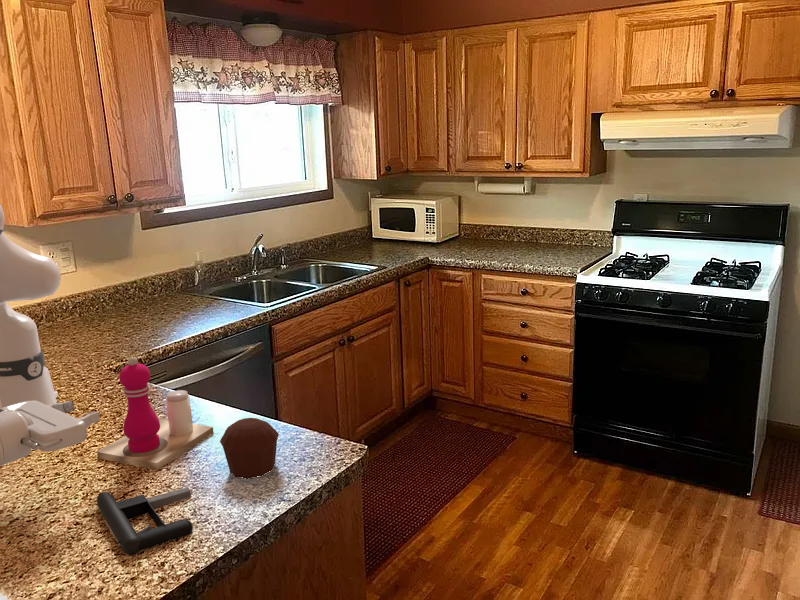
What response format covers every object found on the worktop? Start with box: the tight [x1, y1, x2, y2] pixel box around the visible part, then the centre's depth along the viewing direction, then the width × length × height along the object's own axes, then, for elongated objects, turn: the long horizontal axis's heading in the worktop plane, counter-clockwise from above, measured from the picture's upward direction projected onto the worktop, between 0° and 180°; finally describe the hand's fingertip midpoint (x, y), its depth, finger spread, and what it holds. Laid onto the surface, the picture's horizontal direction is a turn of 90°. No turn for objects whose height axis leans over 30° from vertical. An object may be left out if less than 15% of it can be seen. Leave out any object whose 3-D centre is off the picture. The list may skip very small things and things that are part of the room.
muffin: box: [219, 417, 280, 480], centre depth 132 cm, size 12×11×10 cm
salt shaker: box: [165, 389, 194, 437], centre depth 146 cm, size 5×5×9 cm
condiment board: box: [96, 417, 214, 471], centre depth 144 cm, size 16×18×2 cm
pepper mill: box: [118, 356, 160, 453], centre depth 138 cm, size 7×7×20 cm
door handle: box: [91, 486, 194, 556], centre depth 116 cm, size 3×20×16 cm
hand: (84, 410), depth 129 cm, fingers open, 8 cm apart
